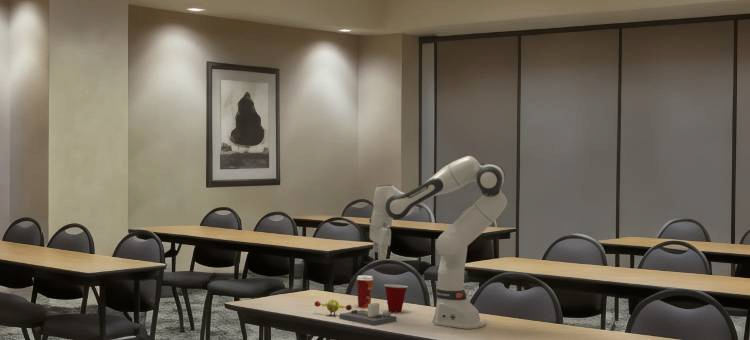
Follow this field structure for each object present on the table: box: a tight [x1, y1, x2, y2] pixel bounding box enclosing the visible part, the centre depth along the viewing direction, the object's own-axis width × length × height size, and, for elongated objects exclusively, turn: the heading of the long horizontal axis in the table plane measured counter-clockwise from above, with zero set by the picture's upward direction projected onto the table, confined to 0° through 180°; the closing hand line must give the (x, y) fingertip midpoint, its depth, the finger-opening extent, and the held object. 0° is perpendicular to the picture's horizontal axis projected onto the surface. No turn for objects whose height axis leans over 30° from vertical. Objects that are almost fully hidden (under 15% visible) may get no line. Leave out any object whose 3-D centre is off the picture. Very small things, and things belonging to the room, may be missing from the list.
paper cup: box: [356, 274, 374, 309], centre depth 435 cm, size 8×8×14 cm
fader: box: [367, 302, 380, 317], centre depth 399 cm, size 2×5×5 cm, turn 138°
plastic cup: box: [383, 283, 409, 313], centre depth 425 cm, size 11×11×12 cm
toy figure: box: [314, 299, 353, 317], centre depth 410 cm, size 18×6×7 cm, turn 64°
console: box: [339, 309, 397, 326], centre depth 402 cm, size 20×14×4 cm
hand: (378, 253), depth 408 cm, fingers open, 8 cm apart
